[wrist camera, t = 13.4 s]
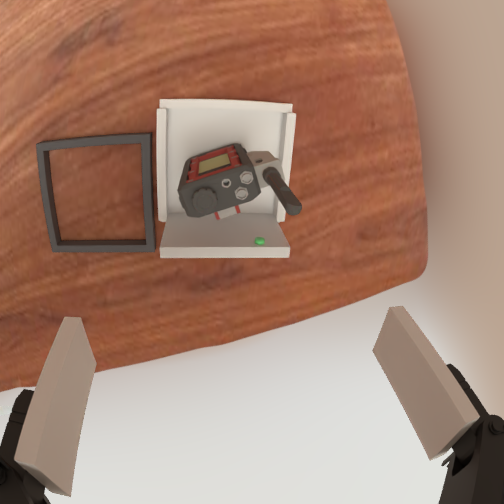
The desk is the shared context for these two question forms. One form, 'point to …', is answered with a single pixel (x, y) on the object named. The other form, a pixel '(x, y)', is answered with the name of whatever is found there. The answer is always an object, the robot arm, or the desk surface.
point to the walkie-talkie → (231, 181)
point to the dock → (209, 138)
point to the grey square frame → (49, 204)
